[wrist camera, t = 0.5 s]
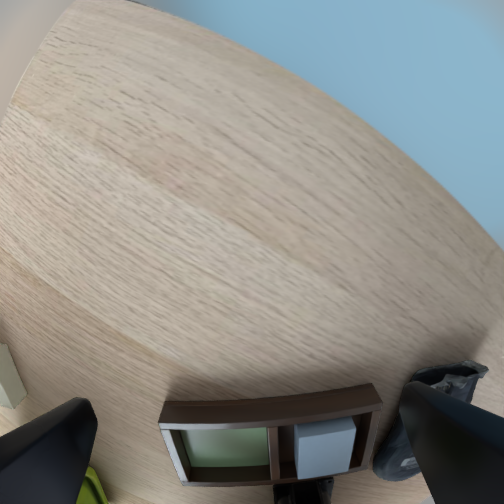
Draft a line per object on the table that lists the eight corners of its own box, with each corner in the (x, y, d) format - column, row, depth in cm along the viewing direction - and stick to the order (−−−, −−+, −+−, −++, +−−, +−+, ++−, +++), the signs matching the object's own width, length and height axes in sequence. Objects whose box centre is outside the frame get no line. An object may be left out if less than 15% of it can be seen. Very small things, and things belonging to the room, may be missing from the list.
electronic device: (389, 364, 25) (360, 480, 26) (425, 390, 19) (381, 511, 21) (458, 348, 26) (425, 457, 27) (494, 365, 21) (449, 481, 22)
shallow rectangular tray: (359, 450, 26) (367, 469, 23) (186, 465, 26) (182, 485, 23) (372, 382, 24) (383, 402, 21) (164, 400, 24) (157, 422, 21)
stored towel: (340, 449, 25) (348, 471, 22) (294, 456, 25) (297, 479, 22) (346, 405, 23) (356, 428, 20) (294, 413, 23) (298, 437, 20)
